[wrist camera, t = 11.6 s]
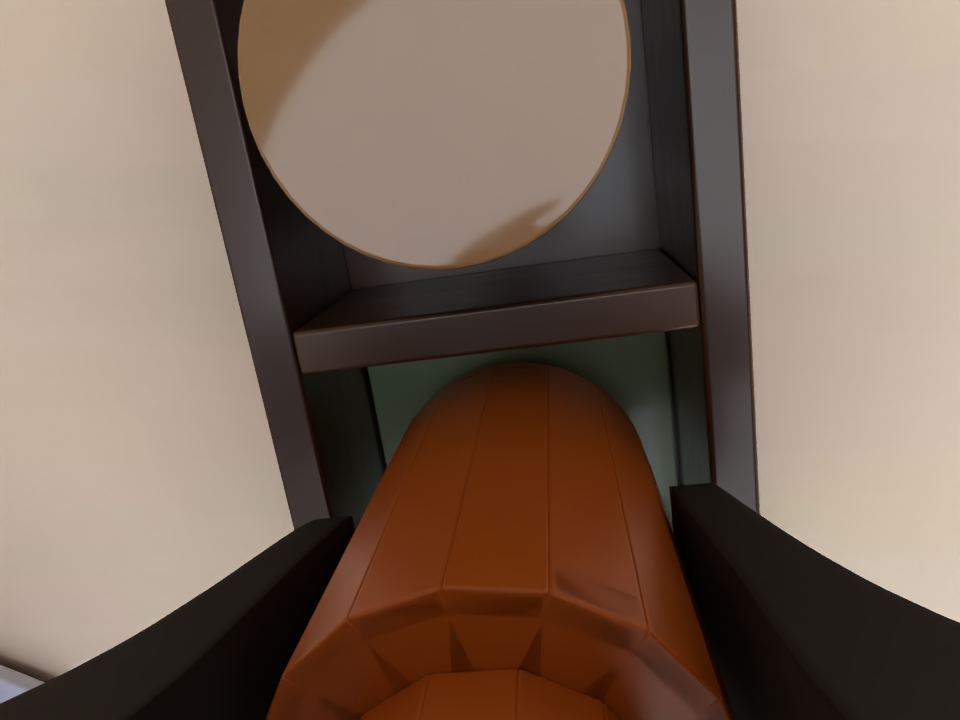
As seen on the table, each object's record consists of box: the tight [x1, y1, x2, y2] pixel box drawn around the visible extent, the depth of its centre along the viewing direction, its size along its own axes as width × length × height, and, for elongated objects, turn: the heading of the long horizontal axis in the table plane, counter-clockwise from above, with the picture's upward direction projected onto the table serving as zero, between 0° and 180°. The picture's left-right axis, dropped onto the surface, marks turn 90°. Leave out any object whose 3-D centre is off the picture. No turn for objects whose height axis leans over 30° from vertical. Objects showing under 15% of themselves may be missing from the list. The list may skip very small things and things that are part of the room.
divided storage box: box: [165, 0, 760, 531], centre depth 12 cm, size 7×14×4 cm, turn 9°
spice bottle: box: [265, 362, 736, 720], centre depth 9 cm, size 5×5×8 cm
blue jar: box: [238, 0, 631, 270], centre depth 10 cm, size 4×4×6 cm
